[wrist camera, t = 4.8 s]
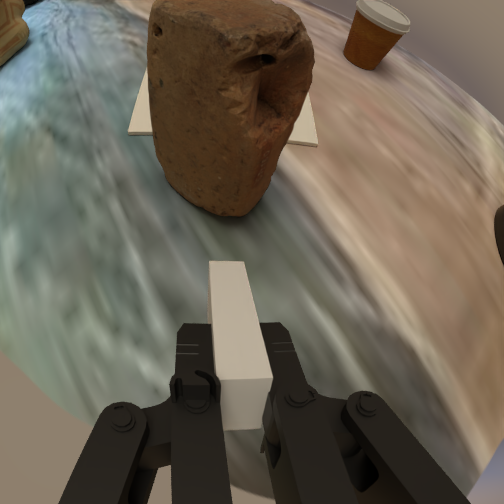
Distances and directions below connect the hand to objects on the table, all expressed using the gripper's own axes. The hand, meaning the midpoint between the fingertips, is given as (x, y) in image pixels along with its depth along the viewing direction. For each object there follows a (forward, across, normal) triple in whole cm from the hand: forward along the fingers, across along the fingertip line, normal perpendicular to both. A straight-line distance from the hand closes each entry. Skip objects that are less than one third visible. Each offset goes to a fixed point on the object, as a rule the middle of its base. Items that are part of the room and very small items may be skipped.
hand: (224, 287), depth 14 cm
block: (+20, 0, 0) cm, 20 cm away
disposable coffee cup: (+40, -24, -20) cm, 51 cm away
